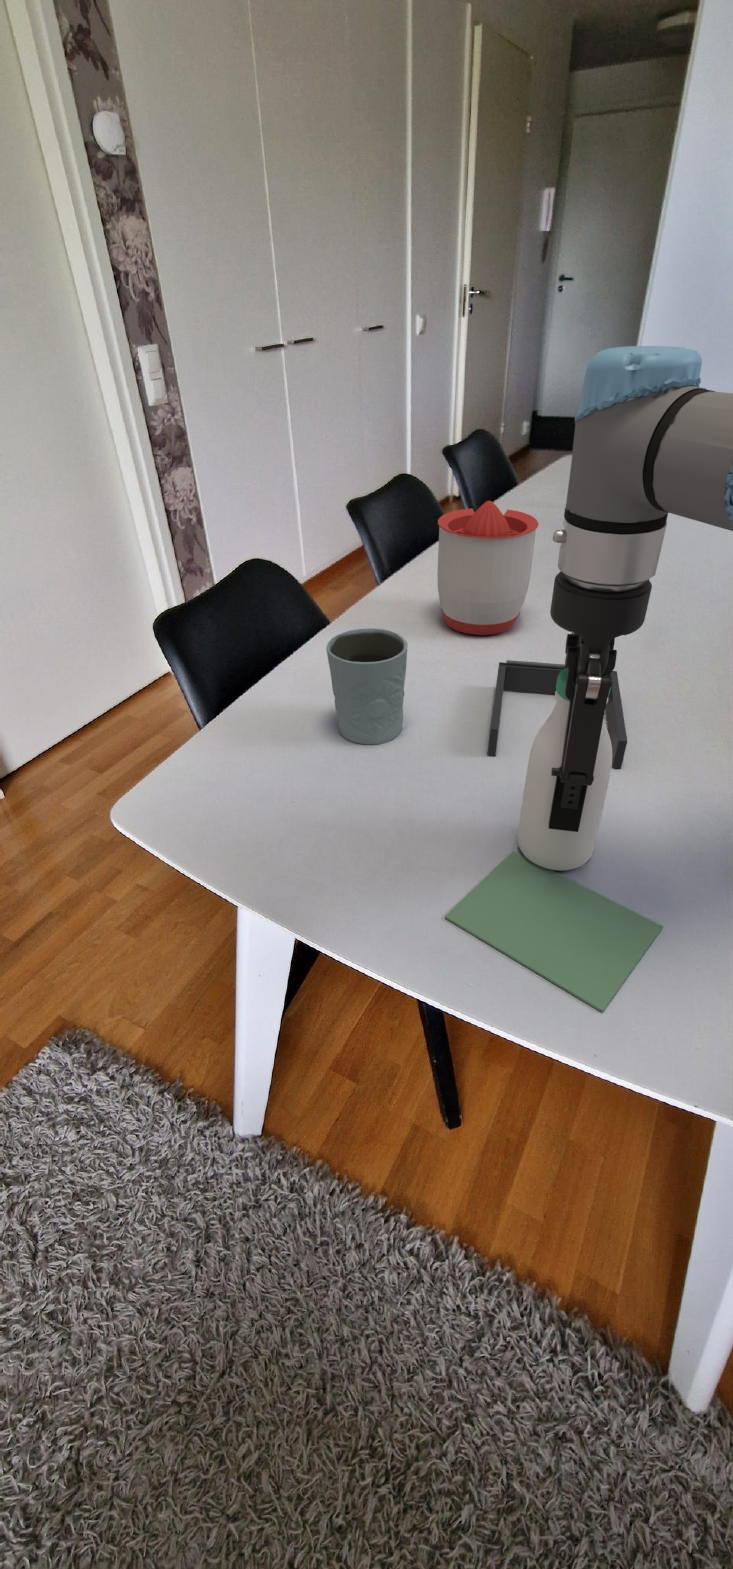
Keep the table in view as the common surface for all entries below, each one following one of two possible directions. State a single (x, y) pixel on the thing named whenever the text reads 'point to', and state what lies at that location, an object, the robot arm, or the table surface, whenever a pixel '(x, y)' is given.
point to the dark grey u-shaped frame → (544, 682)
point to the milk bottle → (546, 754)
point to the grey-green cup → (368, 683)
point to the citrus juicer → (484, 567)
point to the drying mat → (556, 928)
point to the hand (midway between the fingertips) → (563, 800)
